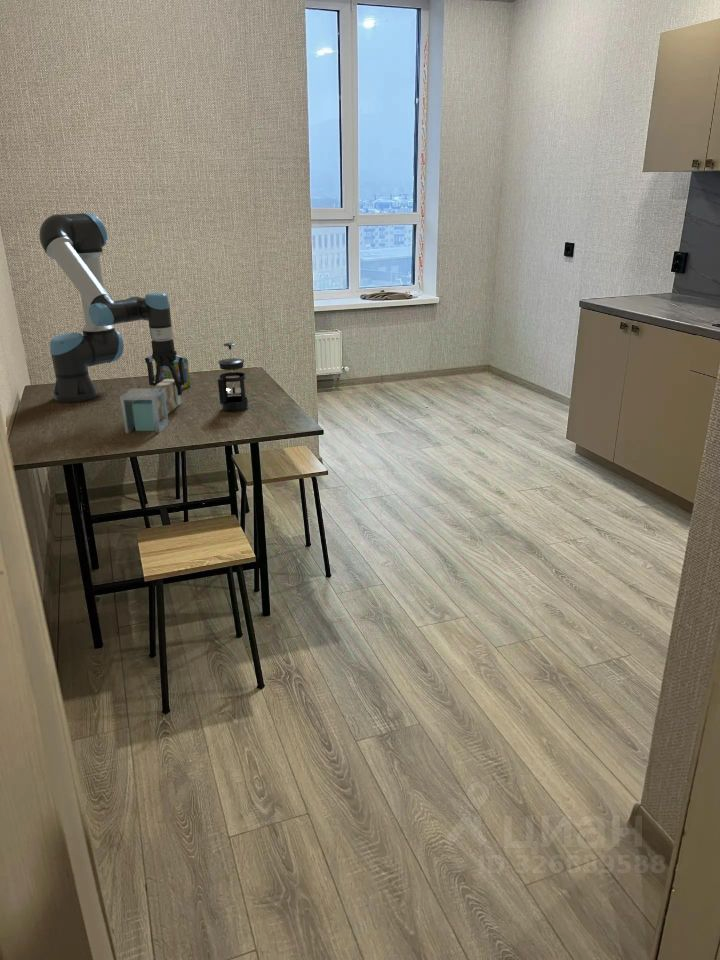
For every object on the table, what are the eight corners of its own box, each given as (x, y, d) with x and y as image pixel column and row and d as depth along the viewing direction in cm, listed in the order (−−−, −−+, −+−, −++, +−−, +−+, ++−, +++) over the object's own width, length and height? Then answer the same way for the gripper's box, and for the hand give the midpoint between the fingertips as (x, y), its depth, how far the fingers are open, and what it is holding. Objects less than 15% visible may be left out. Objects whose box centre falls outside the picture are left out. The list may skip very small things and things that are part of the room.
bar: (158, 421, 235) (154, 395, 232) (143, 421, 236) (140, 395, 232) (181, 403, 255) (178, 379, 252) (168, 403, 256) (165, 378, 253)
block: (135, 430, 226) (131, 403, 223) (142, 425, 232) (138, 398, 228) (154, 430, 226) (150, 403, 223) (159, 425, 232) (156, 398, 228)
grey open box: (159, 433, 224) (154, 396, 219) (125, 433, 224) (119, 396, 220) (168, 423, 233) (164, 388, 228) (136, 423, 233) (130, 388, 229)
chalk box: (157, 389, 275) (152, 351, 269) (174, 384, 282) (170, 347, 276) (174, 392, 270) (169, 354, 264) (191, 386, 277) (187, 349, 272)
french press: (236, 402, 255) (230, 339, 246) (255, 406, 250) (250, 341, 241) (212, 410, 246) (206, 345, 237) (232, 414, 241) (226, 348, 232)
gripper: (132, 341, 240) (142, 407, 249) (185, 341, 239) (192, 406, 248) (139, 337, 247) (148, 401, 256) (191, 336, 246) (198, 400, 255)
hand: (170, 403), depth 252 cm, fingers closed on bar, 5 cm apart
